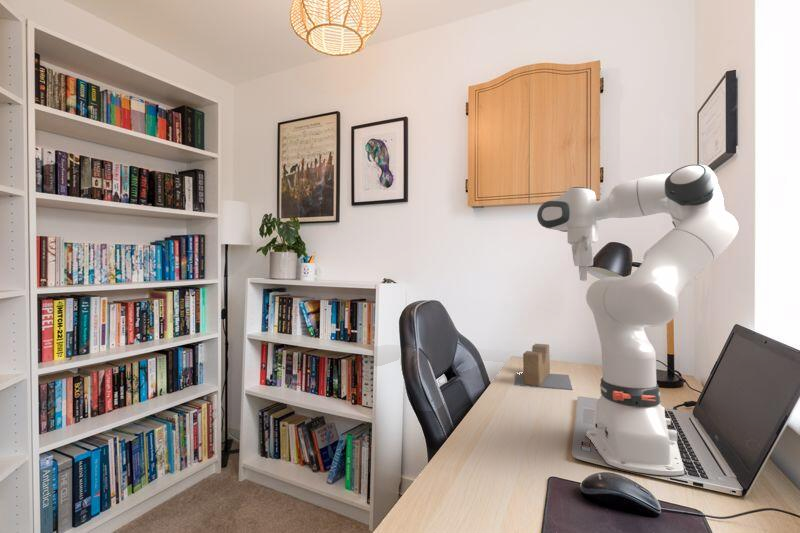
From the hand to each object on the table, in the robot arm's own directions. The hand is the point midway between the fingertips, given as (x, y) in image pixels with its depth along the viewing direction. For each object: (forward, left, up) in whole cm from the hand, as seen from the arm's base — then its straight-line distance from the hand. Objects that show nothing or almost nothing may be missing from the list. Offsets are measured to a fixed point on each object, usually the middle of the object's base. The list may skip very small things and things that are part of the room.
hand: (583, 280), depth 125 cm
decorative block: (+6, +17, -31) cm, 36 cm away
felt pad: (+15, +13, -37) cm, 42 cm away
